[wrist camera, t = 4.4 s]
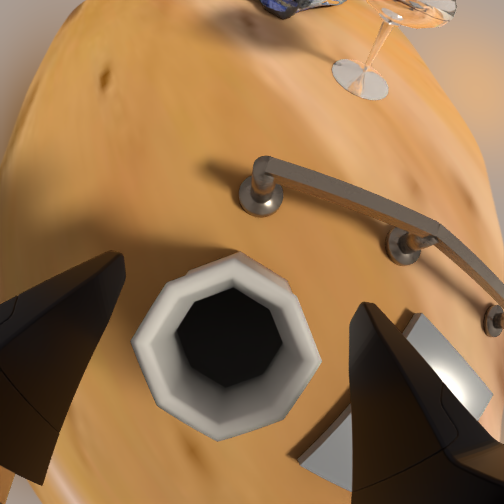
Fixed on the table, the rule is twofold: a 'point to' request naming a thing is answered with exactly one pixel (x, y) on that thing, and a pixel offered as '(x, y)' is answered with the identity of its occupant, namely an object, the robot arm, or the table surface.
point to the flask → (226, 347)
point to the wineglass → (393, 14)
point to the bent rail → (404, 219)
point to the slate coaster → (447, 368)
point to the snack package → (292, 6)
